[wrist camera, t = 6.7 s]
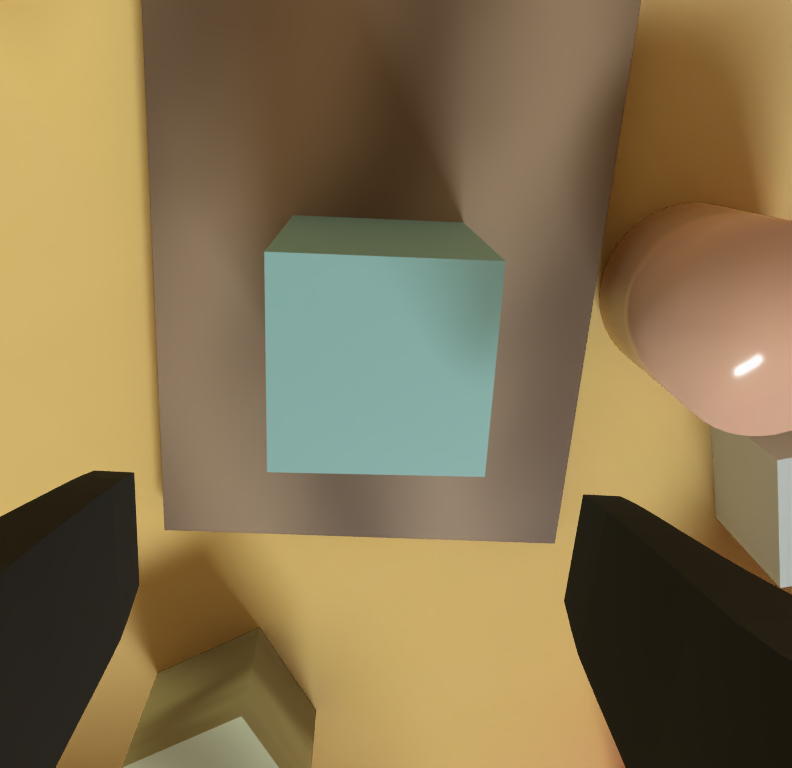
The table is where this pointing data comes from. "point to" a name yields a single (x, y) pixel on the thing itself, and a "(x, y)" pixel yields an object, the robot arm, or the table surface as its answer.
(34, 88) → the table surface
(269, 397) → the teal block
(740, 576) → the robot arm
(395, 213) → the board
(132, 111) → the table surface
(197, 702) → the olive block
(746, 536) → the grey cube
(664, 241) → the peach rounded piece
